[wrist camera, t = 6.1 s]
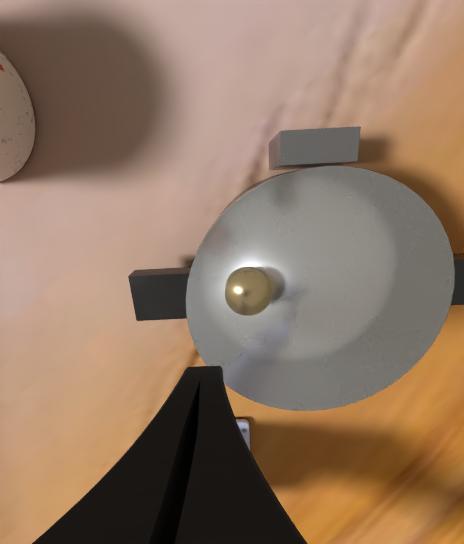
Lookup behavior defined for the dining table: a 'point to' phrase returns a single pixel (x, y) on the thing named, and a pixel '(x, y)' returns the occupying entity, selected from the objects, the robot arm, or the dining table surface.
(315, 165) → the cooker pot
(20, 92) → the teacup with lid
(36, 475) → the dining table surface
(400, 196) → the cooker lid
